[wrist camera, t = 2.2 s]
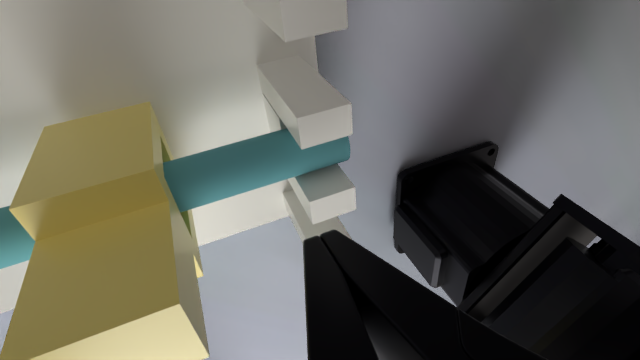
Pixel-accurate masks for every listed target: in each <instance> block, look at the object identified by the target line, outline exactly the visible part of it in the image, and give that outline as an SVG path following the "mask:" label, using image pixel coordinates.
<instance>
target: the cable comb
mask: <svg viewBox="0 0 640 360" xmlns="http://www.w3.org/2000/svg"><path fill="white" fill-rule="evenodd" d="M343 29H348V18H347V0H0V208H3V207H6V206H10V205H11V203H12V201H13V198H14V196H15V194H16V191H17V189H18V187H19V184H20V182H21V180H22V177H23V175H24V173H25V170H26V168H27V166H28V163H29V161H30V159H31V156H32V154H33V152H34V149H35V147H36V145H37V142H38V140H39V138H40V135H41V133H42V131H43V128H44V127H45V126H49V125H53V124H57V123H62V122H66V121H70V120H74V119H78V118H83V117H87V116H91V115H95V114H99V113H103V112H108V111H112V110H116V109H120V108H124V107H128V106H133V105H137V104H141V103H145V102H149V101H150V103H151V106H152V108H153V110H154V113H155V115H156V118H157V120H158V123H159V125H160V127H161V130H162V132H163V135H164V137H165V139H166V142H167V144H168V147H169V149H170V152H171V154H172V156H173V159H178V158H182V157H185V156H189V155H192V154H196V153H199V152H203V151H207V150H210V149H214V148H217V147H221V146H225V145H228V144H232V143H235V142H239V141H242V140H246V139H250V138H253V137H257V136H260V135H264V134H268V133H271V132H275V131H278V130H282V129H285V128H287V129H288V130H289V132H290V133H291V135H292V136H293V138H294V139H295V141H296V142H297V144H298V145H299V147H300V148H301V150H302V149H305V148H309V147H312V146H316V145H319V144H322V143H326V142H329V141H332V140H336V139H339V138H342V137H346V136H349V135H353V128H352V106H351V103H350V102H349V101H348V100H347V99H346V98H345V97H344V96H343V95H342V94H341V93H339V92H338V91H337V90H336V89H335V88H334V87H333V86H332V85H331V84H330V83H329V82H327V81H326V80H325V79H324V78H323V77H322V76H321V75H320V74H319V73H318V64H317V54H316V44H315V36H316V35H321V34H325V33H330V32H334V31H339V30H343ZM353 210H356V194H355V186H354V185H353V184H352V182H351V181H350V180H349V178H348V177H347V176H346V175H345V173H344V172H343V171H342V170H341V168H340V167H339V166H338V164H334V165H331V166H327V167H324V168H321V169H318V170H315V171H312V172H308V173H305V174H302V175H299V176H296V177H292V178H289V179H286V180H283V181H280V182H276V183H273V184H270V185H267V186H264V187H261V188H257V189H254V190H251V191H248V192H245V193H241V194H238V195H235V196H232V197H229V198H225V199H222V200H219V201H216V202H213V203H210V204H206V205H203V206H200V207H197V208H194V209H192V214H193V220H194V226H195V231H196V237H197V243H198V246H201V245H204V244H207V243H210V242H213V241H216V240H219V239H222V238H225V237H228V236H231V235H234V234H237V233H240V232H243V231H246V230H249V229H252V228H255V227H257V226H260V225H263V224H266V223H269V222H272V221H275V220H278V219H281V218H284V217H287V216H290V218H291V220H292V222H293V224H294V226H295V228H296V230H297V232H298V234H299V237H300V239H301V241H302V243H303V241H304V240H305V239H307V238H310V237H313V236H316V235H318V236H320V234H322V233H324V232H327V231H330V230H333V229H334V230H337V231H339V232H341V233H342V234H344V235H345V236H347V237H348V238H350V239H351V240H352V238H351V237H350V235H349V234H348V232H347V231H346V229H345V228H344V226H343V225H342V223H341V221H340V220H339V218H338V217H337V216H339V215H342V214H345V213H348V212H351V211H353ZM28 263H29V260H28V261H25V262H21V263H18V264H15V265H12V266H9V267H6V268H2V269H0V314H1V313H4V312H7V311H10V310H13V309H15V306H16V302H17V299H18V296H19V293H20V289H21V286H22V283H23V280H24V276H25V273H26V270H27V267H28Z"/></svg>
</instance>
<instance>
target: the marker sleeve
mask: <svg viewBox="0 0 640 360" xmlns="http://www.w3.org/2000/svg"><path fill="white" fill-rule="evenodd" d="M171 160H174V159H173V156H172V154H171V152H170V149H169V147H168V144H167V142H166V139H165V137H164V135H163V132H162V130H161V127H160V125H159V123H158V120H157V118H156V115H155V113H154V110H153V108H152V106H151V103H150V101H149V102H145V103H141V104H137V105H133V106H128V107H124V108H120V109H116V110H112V111H108V112H103V113H99V114H95V115H91V116H87V117H83V118H78V119H74V120H70V121H66V122H62V123H57V124H53V125H49V126H45V127H44V128H43V131H42V133H41V135H40V138H39V140H38V142H37V145H36V147H35V149H34V152H33V154H32V156H31V159H30V161H29V163H28V166H27V168H26V170H25V173H24V175H23V177H22V180H21V182H20V184H19V187H18V189H17V191H16V194H15V196H14V198H13V201H12V203H11V205H10V208H9V211H10V212H11V213H12V214H13V215H14V217H15V218H16V219H17V220H18V221H19V222H20V224H21V225H22V226H23V227H24V228H25V230H26V231H27V232H28V233H29V234H30V236H31V237H32V238H33V239H34V240H35V244H34V247H33V251H32V254H31V257H30V260H29V263H28V267H27V270H26V273H25V276H24V280H23V283H22V286H21V289H20V293H19V296H18V299H17V302H16V306H15V309H14V312H13V315H12V319H11V322H10V325H9V328H8V332H7V335H6V338H5V341H4V345H3V348H2V351H1V354H0V360H203V359H205V358H208V357H210V355H209V349H208V343H207V337H206V330H205V324H204V318H203V312H202V305H201V299H200V293H199V287H198V280H197V278H199V277H202V276H203V271H202V265H201V259H200V254H199V248H198V243H197V237H196V231H195V226H194V220H193V214H192V209H190V210H187V211H184V212H181V213H180V211H179V209H178V207H177V204H176V202H175V200H174V198H173V195H172V193H171V191H170V189H169V187H168V184H167V182H166V180H165V178H164V170H163V163H164V162H167V161H171Z"/></svg>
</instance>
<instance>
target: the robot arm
mask: <svg viewBox="0 0 640 360" xmlns="http://www.w3.org/2000/svg"><path fill="white" fill-rule="evenodd" d="M497 153H498V146H497V145H496V144H494V143H493V142H491V141H490V142H486V143H483V144H480V145H477V146H474V147H471V148H468V149H465V150H462V151H459V152H456V153H453V154H450V155H447V156H444V157H441V158H438V159H435V160H432V161H429V162H426V163H423V164H420V165H417V166H414V167H411V168H408V169H405V170H403V171H402V172H401V173H400V174H399V175H398V178H397V198H396V208H395V212H394V236H393V238H394V240H395V242H394V247H395V249H396V250H397V251H398V253H405V254H406V255H407V256H408V258H409V259H410V260H411V262H412V263H413V264H414V265H415V267H416V268H417V269H418V271H419V272H420V273H421V274H422V276H423V277H424V278H425V280H426V281H427V282H428V284H429V285H430V286H432V287H434V288H437V287H440V286H441V287H442V289H443V290H444V291H445V292H446V294H447V295H448V296H449V297H450V299H451V300H452V301H453V302H454V304H455V305H456V306H457V307H455V306H454V305H452V304H451V303H449V302H448V301H446V300H445V299H443V298H442V297H440V296H438V295H437V294H435V293H434V292H432V291H431V290H429V289H428V288H426V287H424V286H423V285H421V284H420V283H418V282H417V281H415V280H414V279H412V278H411V277H409V276H407V275H406V274H404V273H403V272H401V271H400V270H398V269H397V268H395V267H393V266H392V265H390V264H389V263H387V262H386V261H384V260H383V259H381V258H379V257H378V256H376V255H375V254H373V253H372V252H370V251H369V250H367V249H365V248H364V247H362V246H361V245H359V244H358V243H356V242H355V241H353V240H351V239H350V238H348V237H347V236H345V235H344V234H342V233H341V232H339V231H337V230H334V229H333V230H330V231H327V232H324V233H322V234H320V236H318V235H316V236H313V237H310V238H307V239H305V240H304V241H303V257H304V281H305V305H306V328H307V352H308V360H640V247H639V246H638V245H636V244H635V243H633V242H632V241H631V240H629V239H628V238H626V237H625V236H623V235H622V234H620V233H619V232H617V231H616V230H614V229H613V228H611V227H610V226H608V225H607V224H605V223H604V222H602V221H601V220H599V219H598V218H596V217H595V216H593V215H592V214H590V213H589V212H587V211H586V210H585V209H583V208H582V207H580V206H579V205H577V204H576V203H574V202H573V201H571V200H570V199H568V198H567V197H565V196H564V195H562V194H560V195H559V196H558V197H557V198H556V200H555V201H554V202H553V203H554V205H553V206H552V207H551V208H550V209H549V208H547V207H546V206H545V205H543V204H542V203H540V202H539V201H538V200H536V199H535V198H534V197H532V196H531V195H530V194H528V193H527V192H525V191H524V190H523V189H521V188H520V187H519V186H517V185H516V184H514V183H513V182H512V181H510V180H509V179H508V178H506V177H505V176H504V175H502V174H501V173H499V172H498V171H497V170H495V169H494V165H495V161H496V157H497ZM596 236H599V237H600V238H601V240H600V241H599V242H598V243H594V244H593V245H592V246H591V247H590V248H587V247H586V246H587V245H588V244H589V243H590V242H591V241H592V240H593V239H594V238H595V237H596Z"/></svg>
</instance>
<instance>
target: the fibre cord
mask: <svg viewBox="0 0 640 360" xmlns="http://www.w3.org/2000/svg"><path fill="white" fill-rule="evenodd" d="M349 157H350V143H349V138H348V136H346V137H342V138H339V139H336V140H332V141H329V142H326V143H322V144H319V145H316V146H312V147H309V148H305V149H302V150H301V148H300V147H299V145H298V144H297V142H296V141H295V139H294V138H293V136H292V135H291V133H290V132H289V130H288V129H287V128H285V129H282V130H278V131H275V132H271V133H268V134H264V135H260V136H257V137H253V138H250V139H246V140H242V141H239V142H235V143H232V144H228V145H225V146H221V147H217V148H214V149H210V150H207V151H203V152H199V153H196V154H192V155H189V156H185V157H182V158H178V159H174V160H171V161H167V162H164V163H163V170H164V178H165V180H166V182H167V184H168V187H169V189H170V191H171V193H172V195H173V198H174V200H175V202H176V204H177V207H178V209H179V211H180V213H181V212H184V211H187V210H190V209H194V208H197V207H200V206H203V205H206V204H210V203H213V202H216V201H219V200H222V199H225V198H229V197H232V196H235V195H238V194H241V193H245V192H248V191H251V190H254V189H257V188H261V187H264V186H267V185H270V184H273V183H276V182H280V181H283V180H286V179H289V178H292V177H296V176H299V175H302V174H305V173H308V172H312V171H315V170H318V169H321V168H324V167H327V166H331V165H334V164H337V163H340V162H343V161H347V160H348V159H349ZM9 208H10V206H6V207H3V208H0V269H2V268H6V267H9V266H12V265H15V264H18V263H21V262H25V261H28V260H30V257H31V254H32V251H33V247H34V244H35V240H34V239H33V238H32V237H31V236H30V234H29V233H28V232H27V231H26V230H25V228H24V227H23V226H22V225H21V224H20V222H19V221H18V220H17V219H16V218H15V217H14V215H13V214H12V213H11V212H10V211H9Z"/></svg>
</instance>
